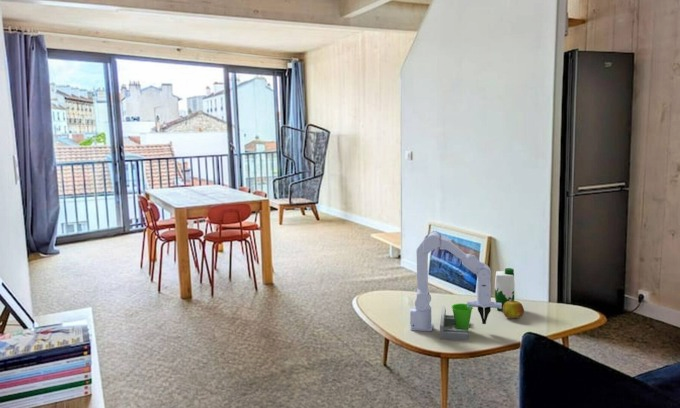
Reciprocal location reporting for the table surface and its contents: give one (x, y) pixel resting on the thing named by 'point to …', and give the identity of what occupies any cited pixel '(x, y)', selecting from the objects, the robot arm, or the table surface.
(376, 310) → the table surface
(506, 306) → the fruit
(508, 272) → the milk carton
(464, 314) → the cup
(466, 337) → the rack
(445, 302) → the table surface
